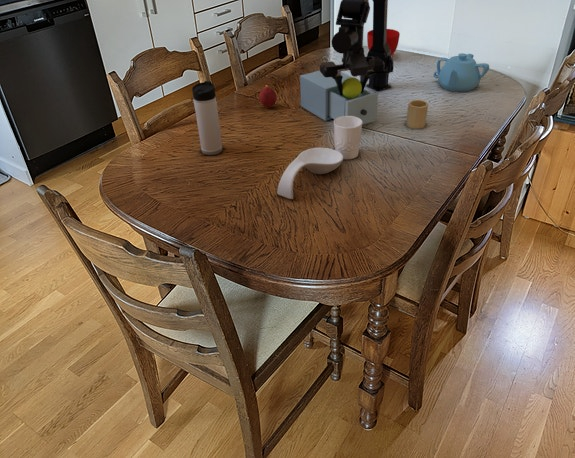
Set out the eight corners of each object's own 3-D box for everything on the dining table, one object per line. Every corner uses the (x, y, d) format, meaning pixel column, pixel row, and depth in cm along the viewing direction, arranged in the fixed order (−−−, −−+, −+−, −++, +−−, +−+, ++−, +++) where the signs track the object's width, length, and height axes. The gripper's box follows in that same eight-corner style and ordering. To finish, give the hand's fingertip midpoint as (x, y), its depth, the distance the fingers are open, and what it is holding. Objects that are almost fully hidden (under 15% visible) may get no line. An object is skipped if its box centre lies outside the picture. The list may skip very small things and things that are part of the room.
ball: (352, 79, 158) (357, 70, 151) (362, 96, 157) (368, 88, 151) (335, 88, 157) (339, 79, 150) (345, 105, 156) (350, 97, 150)
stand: (416, 119, 160) (418, 98, 156) (429, 125, 156) (432, 104, 152) (402, 123, 158) (404, 102, 153) (415, 130, 153) (418, 109, 149)
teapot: (492, 88, 177) (498, 57, 170) (449, 96, 173) (454, 64, 167) (467, 74, 189) (472, 44, 182) (426, 81, 185) (430, 51, 178)
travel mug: (226, 146, 150) (218, 81, 138) (217, 156, 145) (208, 90, 133) (208, 143, 152) (198, 79, 140) (198, 154, 147) (187, 88, 135)
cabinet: (356, 111, 166) (358, 79, 160) (325, 121, 161) (325, 88, 155) (331, 97, 177) (331, 67, 170) (300, 106, 172) (300, 75, 165)
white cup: (364, 150, 145) (366, 118, 139) (355, 162, 139) (357, 129, 133) (338, 145, 148) (339, 114, 141) (329, 157, 142) (329, 125, 136)
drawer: (378, 121, 157) (380, 94, 152) (349, 131, 153) (350, 103, 147) (350, 106, 168) (351, 80, 162) (321, 114, 163) (321, 88, 158)
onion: (277, 104, 174) (276, 82, 169) (276, 111, 169) (274, 88, 164) (261, 104, 174) (259, 82, 169) (259, 111, 170) (257, 88, 165)
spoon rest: (314, 154, 144) (314, 131, 140) (350, 164, 138) (351, 141, 134) (266, 192, 128) (264, 168, 124) (305, 205, 123) (304, 180, 119)
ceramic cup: (364, 66, 200) (366, 40, 194) (366, 52, 214) (367, 28, 208) (397, 66, 198) (400, 41, 192) (397, 53, 212) (399, 28, 206)
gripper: (329, 54, 138) (329, 107, 147) (393, 47, 141) (388, 100, 150) (319, 43, 147) (319, 94, 156) (379, 36, 149) (376, 87, 159)
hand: (351, 94), depth 155 cm, fingers closed on ball, 6 cm apart
